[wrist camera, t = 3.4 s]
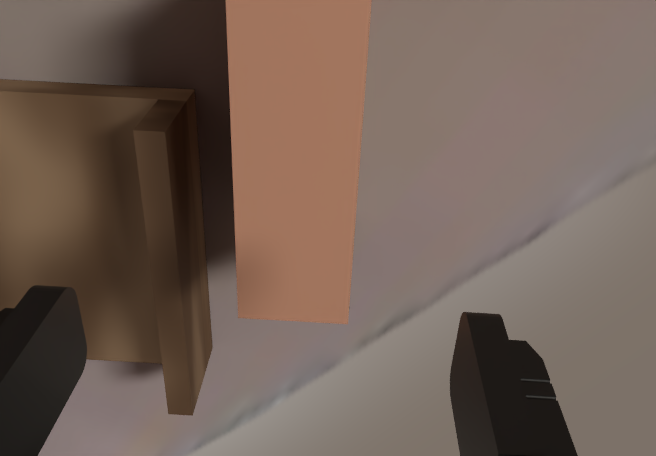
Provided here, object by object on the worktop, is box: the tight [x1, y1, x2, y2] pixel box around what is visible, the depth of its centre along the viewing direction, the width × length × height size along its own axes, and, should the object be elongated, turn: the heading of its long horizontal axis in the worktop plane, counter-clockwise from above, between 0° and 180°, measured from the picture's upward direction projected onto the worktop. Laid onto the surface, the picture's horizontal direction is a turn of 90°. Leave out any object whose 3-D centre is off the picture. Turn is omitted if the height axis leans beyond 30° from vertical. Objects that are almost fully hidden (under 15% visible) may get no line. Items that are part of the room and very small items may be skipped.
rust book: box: [226, 0, 371, 324], centre depth 24 cm, size 4×12×9 cm, turn 178°
